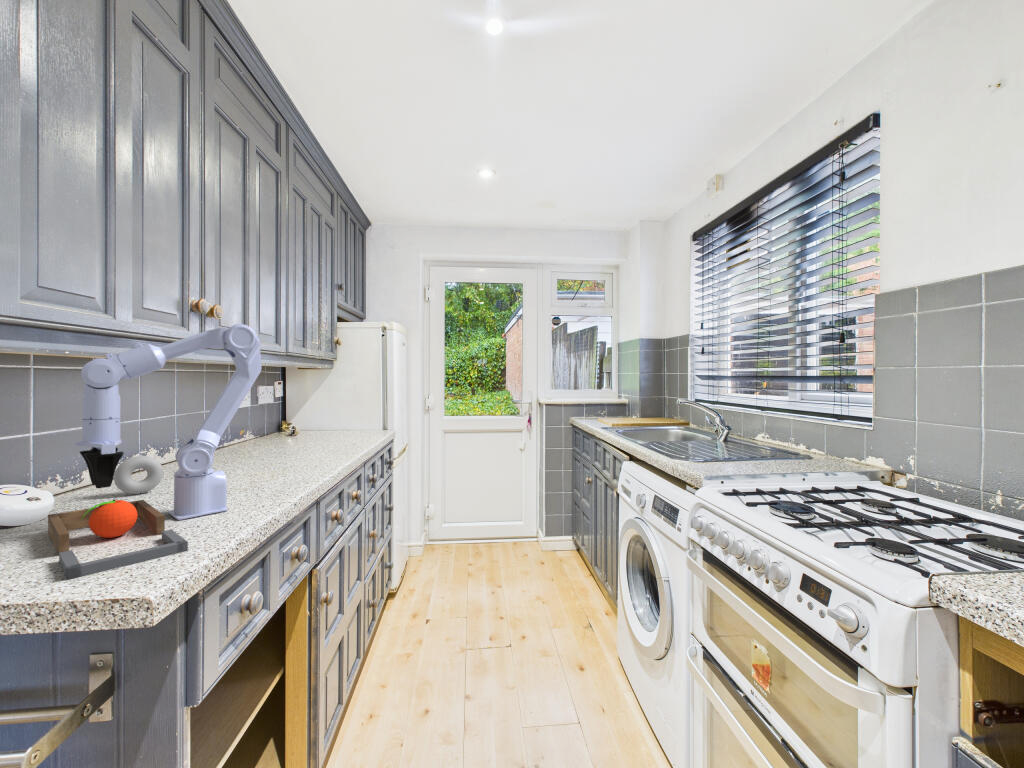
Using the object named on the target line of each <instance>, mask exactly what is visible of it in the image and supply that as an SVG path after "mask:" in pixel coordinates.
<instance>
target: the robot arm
mask: <svg viewBox="0 0 1024 768" xmlns="http://www.w3.org/2000/svg"><path fill="white" fill-rule="evenodd" d="M261 343H262V342H261V340H260V339H259V336H258V335H257V333H256V332H255V330H254V329H253V328H252V327H251V326H249V325H247V324H243V323H237V324H233V325H231V326H230V327H228V326H224V327H218V328H213V329H210V330H209V329H208V330H205V331H202V332H198V333H196V334H193V335H190V336H188V337H185V338H182V339H179V340H176V341H173V342H171V343H168V344H165V345H162V346H157V345H154V344H151V343H146V344H142V343H141V342H140V343H137V344H133V348H131V349H127V350H124V351H119V352H117V353H115V354H113V353H112V352H109V353H107V354H105V357H106V358H103V357H102V358H100V357H98V358H94V359H93V360H90V361H89V362H87V363H85V364H84V365H83V367H82V368H81V371H80V377H81V379H82V381H83V382H84V384H83V385H82V393H83V395H82V396H81V440H79V441H73V443H72V444H73V445H72V446H74V447H86V448H90V450H81V451H79V453H80V455H81V456H82V459H84V462H85V465H86V466H87V470H88V475H89V477H90V478H89V479H90V482H91V484H92V485H93V486H95V488H96V489H102V488H103V489H104V488H110V487H111V486H112V484H113V482H114V473H115V471H116V469H117V468H118V464H119V462H120V460H121V459H122V457H123V456H124V451H119V448H118V447H117V446H119V445H121V444H122V441H123V440H122V438H121V435H122V434H121V433H122V432H121V427H122V426H121V424H122V423H121V422H122V421H121V417H122V416H121V415H122V414H121V407H122V404H121V401H122V400H121V398H122V397H121V395H120V384H119V383H120V382H121V381H122V379H123V380H127V381H129V380H133V379H136V378H139V377H141V376H144V375H147V374H150V373H153V372H156V371H159V370H163V368H164V367H165V364H166V362H167V361H169V360H172V359H175V358H178V357H181V356H184V355H187V354H190V353H193V352H197V351H200V350H203V349H214V350H221V349H224V350H225V351H226V352H227V354H229V356H230V357H231V359H232V362H233V364H234V366H235V370H234V372H233V374H232V375H231V376H230V378H229V380H228V381H227V383H226V384H225V386H224V388H223V389H222V391H221V393H220V394H219V396H218V397H217V399H216V401H215V402H214V404H213V405H212V407H211V408H210V410H209V412H208V414H207V415H206V416H205V417H204V420H203V421H202V422H201V424H200V426H199V427H198V428H197V430H196V431H195V432H194V433H193V434H192V435H191V438H190V439H189V440H188V441H187V442H186V443H184V444H182V445H181V446H180V447H179V448H178V449H177V451H176V453H175V459H176V462H177V466H178V470H176V471H175V472H174V474H173V475H174V476H173V509H171V510H168V511H167V514H168V515H170V516H171V517H172V518H174V519H176V520H178V521H180V520H186V519H190V518H192V519H193V518H196V517H197V518H198V517H201V516H207V515H211V514H212V515H213V514H216V513H217V514H218V513H222V512H226V511H228V510H229V509H228V508H227V501H228V499H227V497H228V496H227V491H228V489H227V488H228V486H227V485H228V484H227V476H226V473H225V472H224V470H214V468H213V467H212V466H213V463H214V455H215V452H216V450H217V448H218V446H219V444H220V440H221V438H222V435H223V434H224V432H225V431H226V429H227V428H228V426H229V424H230V423H231V421H232V420H233V418H234V416H235V414H236V413H237V411H238V410H239V408H240V406H241V405H242V403H243V402H244V401H245V398H246V397H247V395H248V393H249V391H250V390H251V388H252V387H253V385H254V384H255V382H256V380H257V379H258V378H259V375H260V374H261V372H262V358H261V345H262V344H261Z"/></svg>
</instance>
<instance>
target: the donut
mask: <svg viewBox="0 0 1024 768" xmlns="http://www.w3.org/2000/svg"><path fill="white" fill-rule="evenodd" d="M138 469H142V470H144V471H146V473H147V474H146V476H145V478H143V479H141V480H135V479H133V478H132V474H133V472H134V471H136V470H138ZM163 476H164V468H163V465H162V464H161V463H160V461H159V460H157V459H156V458H154V457H152V456H148V455H137V456H136V455H135V456H132V457H130V458H127V459H125V460H123V461H122V462H121V463H120V464H119V465H117V467H116V469H115V473H114V477H113V483H114V485H115V486H116V488H117V489H118V490H120V491H121V492H123V493H125V494H130V495H141V494H144V493H148V492H150V491H152V490H153V489H156V487H157V486H158V485H159V484H160V482H161V481H162V479H163ZM140 493H141V494H140Z"/></svg>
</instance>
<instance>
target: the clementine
mask: <svg viewBox="0 0 1024 768" xmlns="http://www.w3.org/2000/svg"><path fill="white" fill-rule="evenodd" d="M129 502H130V501H126V500H123V499H112V500H109V501H105V502H100V503H98V504H96V505H93V506H92V507H90V509H89V510H88V511H87V512H89V511H90V510H92V509H93V508H95V507H97V508H96V509H95V510H94V511H93V512H92V514H91V516H90V518H89V527H88V528H89V529H90V530H91V532H92V533H93V534H94V535H96V536H98V537H101V538H105V539H106V538H107V539H114V538H117V537H120V536H123V535H124V534H126V533H128V532H129V531H130V530H131V529H132V528H133V527H134V526H135V524H136V523H137V520H138V518H137V516H138V514H137V510H136V508H135V507H134V506H133V505H132V504H131V503H129ZM87 512H86V513H87ZM86 513H85V514H86ZM85 514H84V516H85ZM84 516H83V517H84ZM82 519H83V518H82ZM113 537H114V538H113Z"/></svg>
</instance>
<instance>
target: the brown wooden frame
mask: <svg viewBox="0 0 1024 768" xmlns="http://www.w3.org/2000/svg"><path fill="white" fill-rule="evenodd" d="M128 502H129V503H131V504H132V505H133V506H134V507H135V508H136V510H137V514H138V516H137V519H138V518H139V519H140V520H141V521H142V522H143V523H144V524H143V523H142V522H141V521H140V520H139V519H138V520H139V521H140V522H141V523H142V524H143V525H145V526H146V527H147V528H148V529H149V530H150V529H151V530H150V531H151V532H153V533H154V535H156V536H159V535H162V531H166V530H165V529H166V528H165V527H166V526H165V525H166V524H165V522H166V521H165V517H166V516H165V515H164V514H163V513H162V512H161V511H159V510H158V509H156V508H155V507H153V506H152V505H151V504H149V503H148V502H147V501H145V500H144V499H141V500H140V499H139V500H134V501H128ZM97 507H98V506H97ZM97 507H95V508H93V509H92V510H90V511H89V512H87V511H88V510H89V509H90V508H91V507H90V508H89V507H88V508H82V509H76V510H71V511H70V510H69V511H63V512H57V513H51V514H48V515H47V533H48V535H49V538H50V540H51V542H52V544H53V546H54V548H55V551H56V552H57V555H59V553H60V552H65V551H70V532H69V531H73V530H79V529H78V528H80V529H84V527H85V528H89V518H90V516H91V514H92V512H93V511H94V510H95V509H96V508H97ZM86 512H87V513H86ZM85 513H86V514H85ZM84 514H85V516H84ZM83 516H84V517H83ZM82 518H83V519H82Z"/></svg>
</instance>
